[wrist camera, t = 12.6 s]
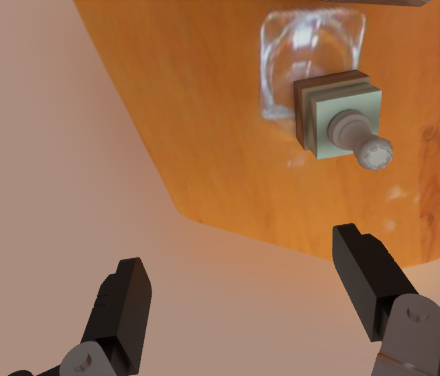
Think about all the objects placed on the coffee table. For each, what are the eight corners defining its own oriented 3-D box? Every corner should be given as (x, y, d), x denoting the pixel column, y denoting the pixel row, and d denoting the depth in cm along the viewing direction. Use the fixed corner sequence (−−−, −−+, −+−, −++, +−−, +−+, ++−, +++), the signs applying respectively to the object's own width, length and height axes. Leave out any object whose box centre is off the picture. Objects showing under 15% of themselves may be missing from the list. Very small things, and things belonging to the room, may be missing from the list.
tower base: (293, 81, 41) (311, 98, 34) (356, 69, 41) (387, 84, 34) (296, 138, 45) (313, 164, 39) (353, 128, 45) (380, 152, 38)
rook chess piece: (339, 102, 35) (372, 129, 28) (374, 115, 36) (414, 144, 29) (319, 139, 37) (346, 172, 30) (352, 150, 38) (385, 184, 31)
